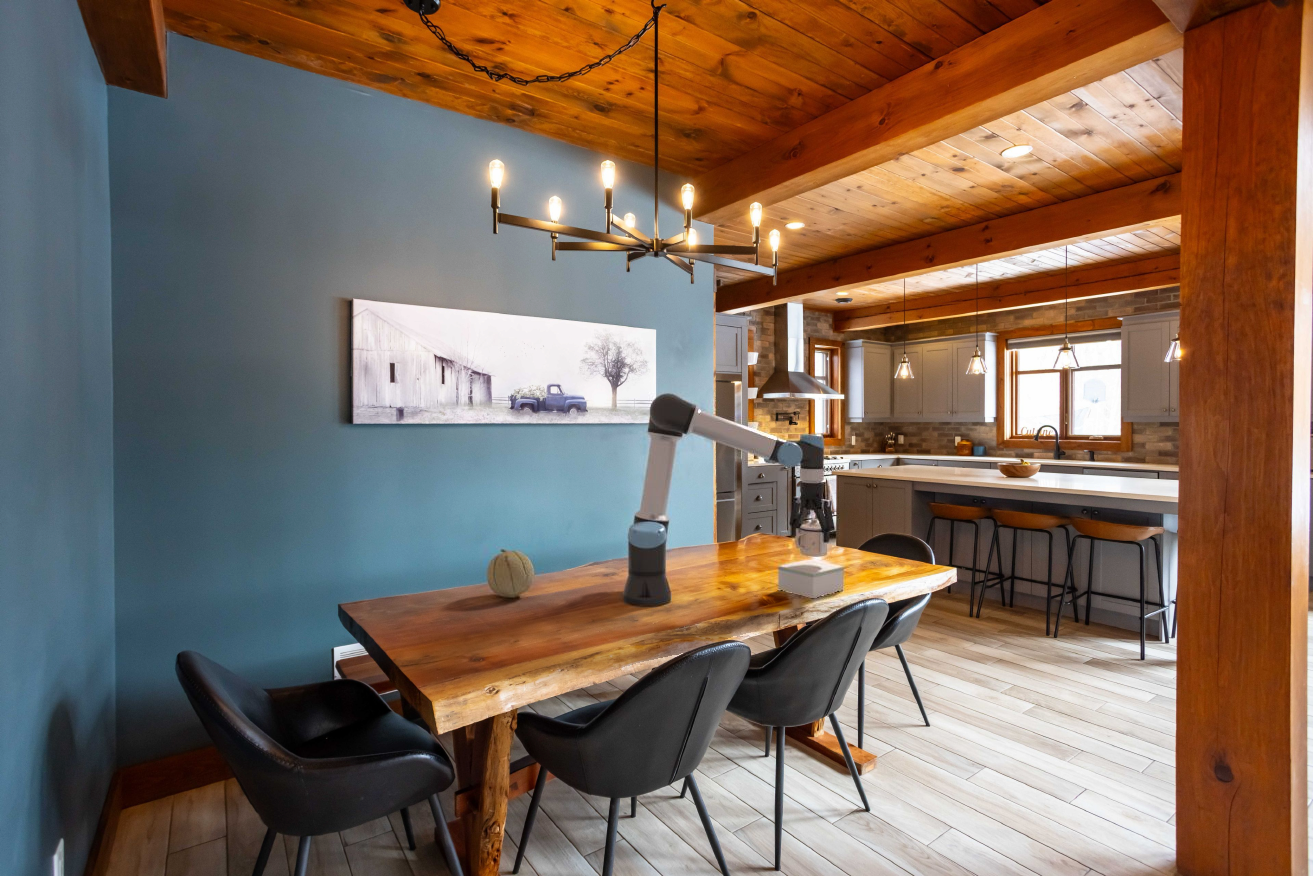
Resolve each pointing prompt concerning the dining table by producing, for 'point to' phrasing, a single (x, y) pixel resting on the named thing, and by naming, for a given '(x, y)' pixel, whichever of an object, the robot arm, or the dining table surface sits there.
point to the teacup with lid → (810, 539)
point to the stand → (810, 578)
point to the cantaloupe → (510, 573)
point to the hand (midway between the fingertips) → (811, 549)
